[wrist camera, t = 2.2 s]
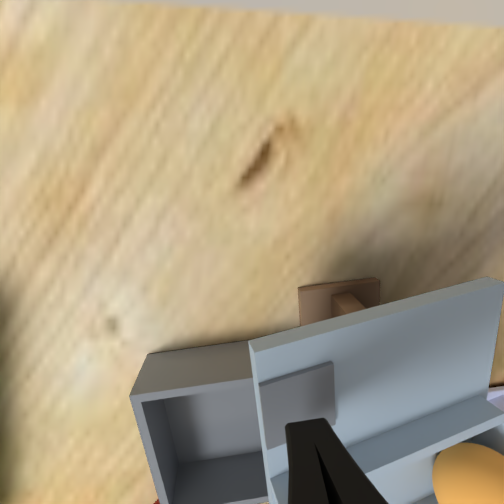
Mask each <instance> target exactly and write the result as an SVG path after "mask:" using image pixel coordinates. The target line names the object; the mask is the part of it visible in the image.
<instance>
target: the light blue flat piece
mask: <svg viewBox="0 0 504 504" xmlns="http://www.w3.org/2000/svg"><path fill="white" fill-rule="evenodd" d="M503 295H504V282H503V281H500V280H496V279H493V278H490V277H484V278H480V279H476V280H472V281H469V282H465V283H461V284H457V285H454V286H450V287H446V288H443V289H439V290H435V291H431V292H428V293H424V294H420V295H416V296H413V297H409V298H405V299H402V300H398V301H394V302H390V303H387V304H383V305H379V306H375V307H372V308H368V309H364V310H361V311H357V312H353V313H349V314H346V315H342V316H338V317H334V318H331V319H327V320H323V321H320V322H316V323H312V324H308V325H305V326H301V327H297V328H293V329H290V330H286V331H282V332H279V333H275V334H271V335H267V336H264V337H260V338H256V339H252V340H249V341H248V343H249V351H250V358H251V366H252V374H253V382H254V390H255V397H256V405H257V413H258V421H259V428H260V436H261V444H262V452H263V460H264V467H265V475H266V483H267V491H268V499H269V504H288V479H289V466H288V456H287V445H286V435H285V425H286V424H287V423H291V422H298V421H304V420H311V419H317V418H323V417H324V418H325V419H327V421H328V422H329V424H330V426H331V427H332V429H333V430H334V432H335V433H336V435H337V436H338V438H339V439H340V441H341V442H342V444H343V445H344V447H345V448H346V449H347V451H348V452H349V454H350V455H351V456H352V458H353V459H354V460H355V462H356V463H357V464H358V466H359V467H360V468H361V470H362V471H363V472H364V474H365V475H366V476H367V477H368V479H369V480H370V481H371V482H372V484H373V485H374V486H375V488H376V489H377V490H378V491H379V493H380V494H381V495H382V496H383V497H384V499H385V500H386V501H387V502H388V503H389V504H439V503H438V501H437V498H436V495H435V492H434V488H433V483H432V470H433V465H434V462H435V460H436V458H437V456H438V455H439V453H440V452H441V451H442V450H444V449H446V448H448V447H451V446H453V445H455V444H457V443H465V442H468V443H476V444H479V445H483V446H486V447H488V448H491V449H493V450H495V451H496V452H498V453H500V454H502V455H503V456H504V412H503V411H502V410H500V409H499V408H497V407H496V406H494V405H493V404H492V403H490V402H489V401H487V394H488V388H489V382H490V376H491V370H492V363H493V357H494V351H495V345H496V339H497V332H498V326H499V320H500V314H501V308H502V301H503Z"/></svg>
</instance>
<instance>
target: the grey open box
mask: <svg viewBox="0 0 504 504" xmlns="http://www.w3.org/2000/svg"><path fill="white" fill-rule="evenodd" d="M248 341H249V340H246V341H239V342H232V343H225V344H218V345H210V346H203V347H196V348H189V349H182V350H175V351H168V352H161V353H153V354H147V357H146V359H145V361H144V363H143V366H142V368H141V370H140V372H139V375H138V377H137V379H136V382H135V384H134V386H133V388H132V391H131V393H130V395H129V397H130V401H131V404H132V408H133V411H134V414H135V418H136V421H137V425H138V428H139V432H140V435H141V439H142V442H143V446H144V449H145V453H146V456H147V460H148V463H149V467H150V470H151V474H152V477H153V481H154V484H155V488H156V491H157V495H158V498H159V502H160V504H258V503H264V502H269V499H268V491H267V483H266V475H265V467H264V460H263V452H262V444H261V436H260V428H259V421H258V413H257V405H256V397H255V390H254V382H253V374H252V366H251V358H250V351H249V343H248Z"/></svg>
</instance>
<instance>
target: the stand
mask: <svg viewBox="0 0 504 504" xmlns="http://www.w3.org/2000/svg"><path fill="white" fill-rule="evenodd" d="M298 298H299V314H300V327H301V326H305V325H308V324H312V323H316V322H320V321H323V320H327V319H331V318H334V317H338V316H342V315H346V314H349V313H353V312H357V311H361V310H364V309H368V308H372V307H375V306H379V300H380V281H379V280H378V279H377V278H367V279H360V280H352V281H345V282H337V283H330V284H322V285H315V286H307V287H300V288H298Z"/></svg>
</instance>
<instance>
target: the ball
mask: <svg viewBox="0 0 504 504" xmlns="http://www.w3.org/2000/svg"><path fill="white" fill-rule="evenodd" d="M432 483H433V488H434V492H435V495H436V498H437V501H438V503H439V504H504V456H503V455H502V454H500V453H498V452H496V451H495V450H493V449H491V448H488V447H486V446H483V445H479V444H476V443H468V442H465V443H457V444H455V445H453V446H451V447H448V448H446V449H444V450H442V451H441V452H440V453H439V455H438V456H437V458H436V460H435V462H434V465H433V470H432Z"/></svg>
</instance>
